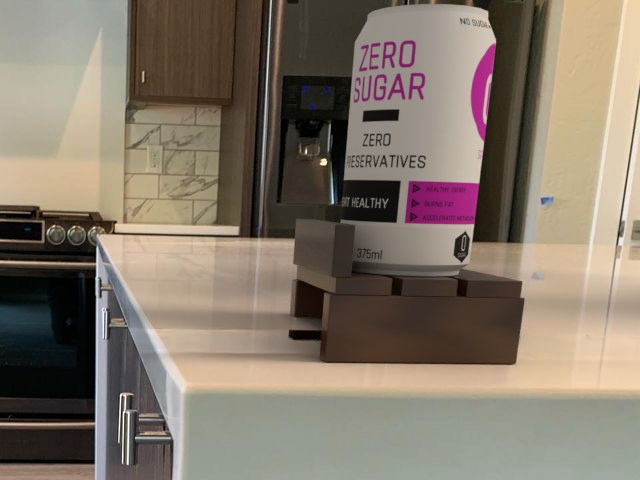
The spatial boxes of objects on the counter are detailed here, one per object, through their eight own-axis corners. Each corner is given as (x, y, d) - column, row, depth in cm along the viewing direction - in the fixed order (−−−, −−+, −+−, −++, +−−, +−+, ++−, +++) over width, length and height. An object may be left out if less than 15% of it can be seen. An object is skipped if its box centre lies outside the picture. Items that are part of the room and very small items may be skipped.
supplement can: (469, 270, 63) (499, 24, 59) (465, 280, 56) (499, -1, 52) (347, 264, 66) (367, 28, 62) (328, 272, 58) (348, 4, 54)
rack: (453, 339, 68) (466, 223, 65) (516, 364, 58) (534, 229, 56) (288, 337, 67) (295, 218, 64) (324, 362, 57) (335, 224, 55)
